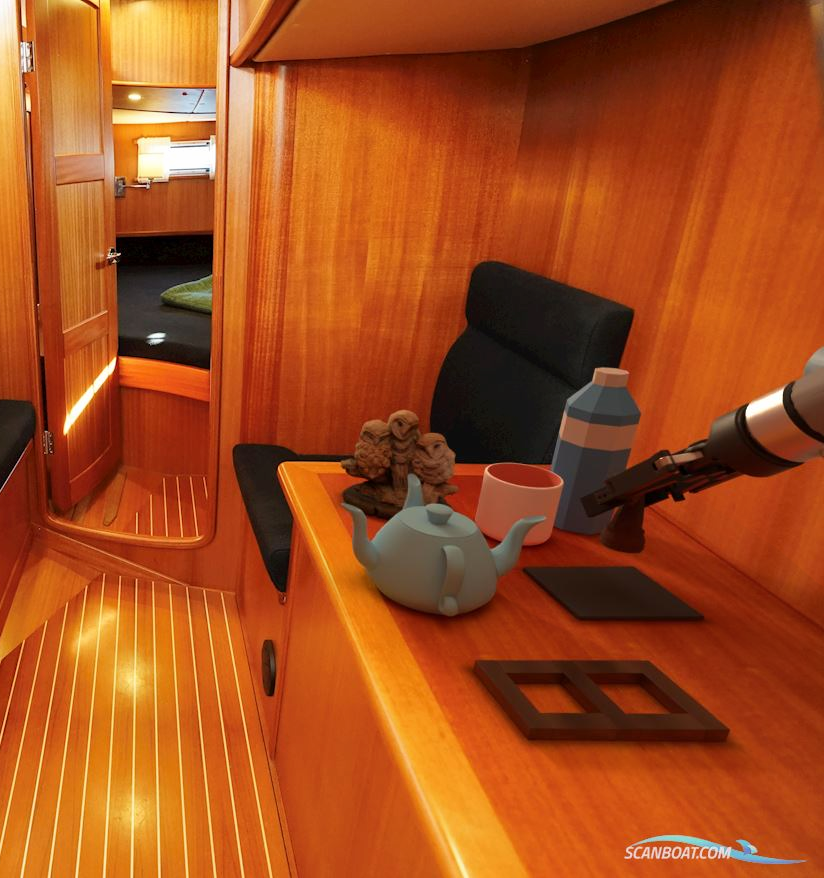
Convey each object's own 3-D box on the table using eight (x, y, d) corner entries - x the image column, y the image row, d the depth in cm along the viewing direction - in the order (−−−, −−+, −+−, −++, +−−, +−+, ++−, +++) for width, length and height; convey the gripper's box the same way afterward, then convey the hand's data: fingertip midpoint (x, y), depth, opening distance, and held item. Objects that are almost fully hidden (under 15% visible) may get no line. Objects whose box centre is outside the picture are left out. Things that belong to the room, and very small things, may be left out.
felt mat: (632, 569, 99) (633, 566, 98) (703, 620, 87) (704, 616, 87) (522, 570, 99) (523, 566, 99) (578, 620, 88) (579, 616, 88)
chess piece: (595, 545, 91) (613, 475, 87) (603, 532, 94) (622, 463, 91) (639, 557, 88) (661, 485, 84) (647, 543, 91) (668, 472, 87)
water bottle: (527, 507, 118) (560, 363, 109) (588, 509, 116) (626, 363, 108) (557, 533, 109) (596, 379, 100) (623, 535, 108) (668, 379, 99)
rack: (645, 671, 79) (648, 660, 79) (726, 741, 69) (730, 729, 69) (472, 670, 80) (474, 659, 80) (527, 739, 70) (530, 728, 70)
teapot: (395, 542, 108) (406, 469, 104) (529, 594, 94) (549, 512, 90) (330, 579, 99) (339, 501, 95) (467, 643, 85) (486, 555, 80)
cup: (459, 527, 112) (470, 469, 109) (501, 514, 116) (513, 458, 112) (520, 555, 103) (534, 493, 100) (564, 540, 107) (579, 480, 103)
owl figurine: (335, 513, 118) (347, 418, 112) (336, 486, 128) (347, 397, 122) (457, 529, 111) (476, 428, 105) (447, 499, 122) (464, 405, 116)
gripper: (719, 470, 70) (553, 538, 91) (875, 459, 71) (676, 528, 92) (683, 404, 73) (532, 484, 94) (834, 394, 74) (650, 476, 95)
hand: (603, 506), depth 93 cm, fingers closed on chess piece, 4 cm apart
